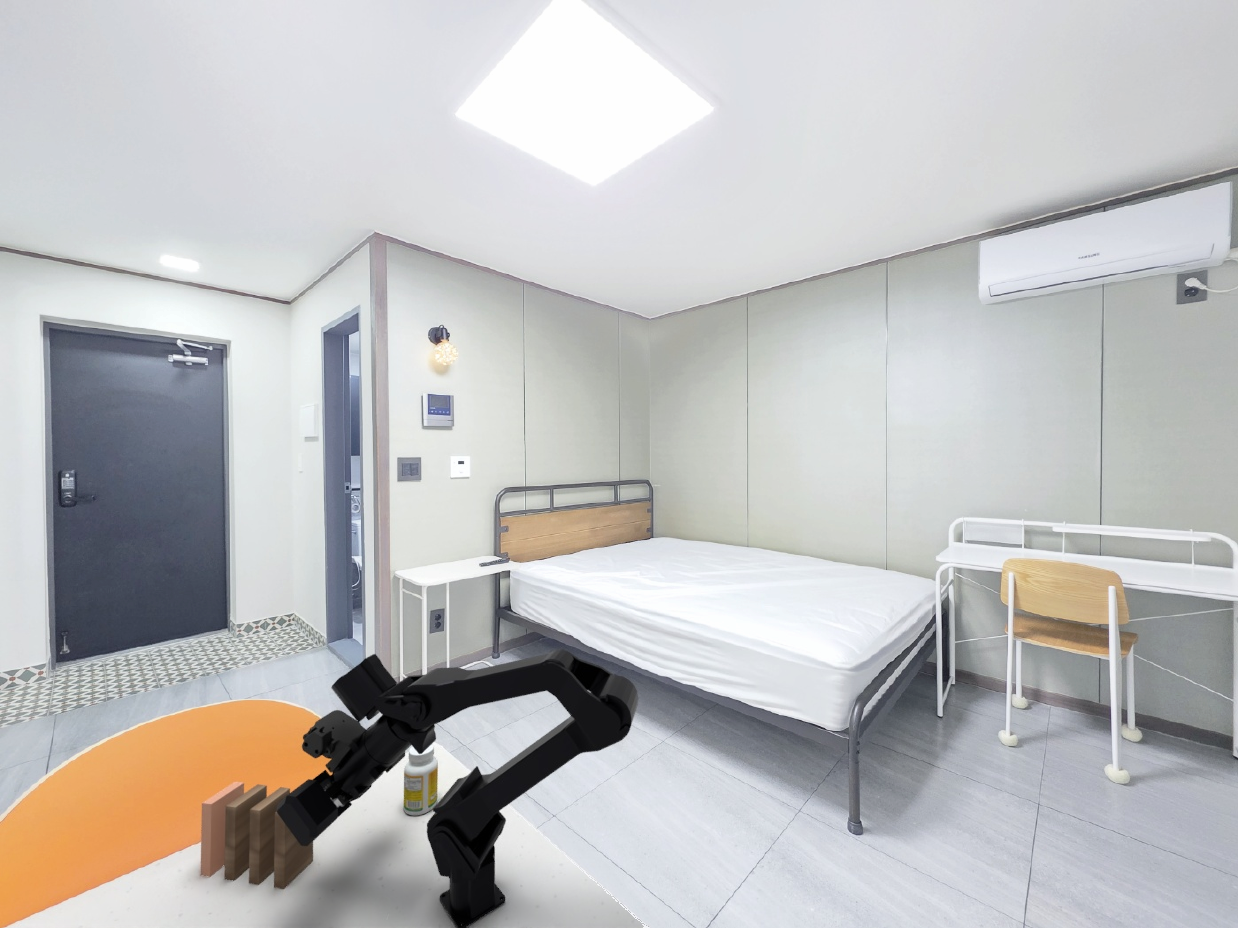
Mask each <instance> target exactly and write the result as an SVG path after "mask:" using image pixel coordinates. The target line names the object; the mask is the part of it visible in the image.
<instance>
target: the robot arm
mask: <svg viewBox="0 0 1238 928" xmlns="http://www.w3.org/2000/svg"><path fill="white" fill-rule="evenodd" d="M331 690H332V691H333V692H334V694H335V695H336V696H337V697H338V699H339V700H340V701H341V702H342V704H343V705H344V706H345V707H346V709H347V710H348V712H350V714H351V715H349V714H348V713H346V712H344V711H342V710H338V709H337V710H336V709H335V710H332V711H331V712H329V713H327V714H326V715H324V716H322V717H321V718H320V719H318V720H316V721H315V722H314V725H312V727H310V728H309V730H308V731H307V732H306V733H305V734H303V736H302V739H303V742H302V744H301V749H302V751H303V752H304V753H306V754H308V755H309V756H311V757H312V758H313V759H318V758H320V757H321V756H323V757H325V758H326V759H328V760H329V759H330V760H329V761H328V762H327V763H326V764H325V765H324V766H325V768H326V769H324V770H323V771H322V772H321V773H319V774H317V775H316V776H315V777H314V778H313V779H312V778H311V779H309V778H308V779H307V780H306V781H304V782H303V783H302V784H300V785H299V786H297V787H296V788H295V789H294V790H291V791H290V793H289V794H288V795H287V796H286V797H285V798H284V799H283V800H282V801H281V802H280V803H279V804H278V805H277V810H276V812H277V813H278V815H279V816H280V817H281V819H282V820H283V822H284V823H285V824H286V826H287V827H288V828H289V830H290V831H291V833H292V834H293V835H294V837H295V838H296V839H297V841H298V842H299V843H300V845H301V846H308V845H309V844H311V843H312V842H313V843H314V841H315V840H317V838H318V837H319V836H321V834H323V832H325V831H326V830H327V829H328V828H329V827H330V826H331V825H332V824H333V823H335V821H336V820H337V819H338V818H339V817H340V816H342V815H343V813H345V812H346V810H348V809H349V808H350V807H351V806H352V805H353V804H352V802H353V801H355V800H358V799H360V798H361V797H362V796H363V795H364V794H366V793H367V791H369V790H370V789H371V788H372V785H373V784H374V783H375V782H376V781H378V779H380V777H381V776H382V775H383V774H384V772H385V773H387V774H388V773H389V772H390V771H391V770H392V769H393V768H394V767H396V766H397V765H398V763H400V762H401V761H402V760H403V759H404V758H405V757H406V751H408V750H409V749H410V748H411V747H414V749H415V750H416V751H417V752H418V753H419V754H422V753H423V752H424V751H425V750H426V749H427V748H428V747H429V746H430V745H431V744H434V742H436V739H437V734H436V731H435V728H436V724H439V723H441V722H443V721H446V720H447V719H449V718H451V717H452V716H454V715H456V714H458V713H460V712H461V711H464V710H467V709H469V708H471V707H476V706H480V705H485V704H491V703H495V702H501V701H505V700H509V699H513V698H514V699H515V698H519V697H524V696H528V695H533V694H537V693H543V692H548V693H549V694H551V695H552V696H554V697H555V698H556V699H557V701H558V702H559V703H560V704H561V706H562V707H563V708H564V710H566V712H568V714H569V717H568V718H566V719H565V720H564V721H562V722H561V723H558V725H556V727H554V728H553V729H551V730H550V731H548V732H547V733H545V734H544V735H543V736H541V737H540V738H539V739H537V740H535V742H533V743H532V744H531V745H529V746H528V747H526V748H525V749H523V750H522V751H520V752H519V753H518V754H517V755H515V756H514V757H512V758H510V760H508V761H507V762H505V763H504V764H503V765H502V766H500V767H499V768H497V769H496V770H494V771H493V772H492V773H489V774H488V773H487V774H482V773H481V771H480V768H479V766H477V765H476V766H475V767H474V768H473V769H472V770H471V772H469V773H468V774H467V775H465V776H463V777H459V778H457V780H456V781H455V782H454V783H453V784H452V785H451V786H450V788H448V790H447V791H446V792H445V794H444V795H443V796H442V797H441V798H440V799H439V801H437V803H436V805H435V806H434V807H433V808H432V812H434V814H432V816H431V817H430V818H429V820H428V822H427V823H426V836H427V837H426V838H427V841H428V842H429V844H430V848H431V850H432V854H433V858H434V860H435V864H436V867H437V871H438V874H439V876H440V877H446V878H448V879H449V889H447V890H445V891H444V892H442V893H440V895H439V902H440V904H441V905H442V908H443V909H444V911H445V912H446V913H447V915H448V917H449V918H450V920H451V922H452V923H453V925H454V927H456V928H468V927H470V926H471V925H473V924H474V923H476V922H478V921H479V920H480V919H482V918H484V917H485V916H487V915H488V914H490V913H492V912H493V911H494V910H496V909H497V908H499V907H501V906H502V905H503V904H505V903H506V896H505V894H504V893H503V891H502V890H501V889H500V888H499V887H498V885H497V884H496V849H495V848H496V847H495V843H496V841H497V840H498V838H499V837H500V836H501V835H502V833H503V830H504V828H505V825H506V822H507V819H506V818H505V816H504V815H503V814H502V813H501V812H500V811H501V810H502V809H504V808H505V807H507V806H508V805H510V804H511V803H512V802H514V801H515V800H517V799H518V798H519V797H521V796H522V795H524V794H525V793H527V792H528V791H529V790H531V789H533V788H534V787H535V786H537V785H538V784H539V783H541V782H542V781H544V780H545V779H546V778H547V777H549V776H550V775H552V774H554V772H556V771H558V770H559V769H561V768H562V767H563V766H564V765H566V764H568V763H569V762H570V761H571V760H573V759H574V758H576V757H577V756H579V755H581V754H585V753H593V752H594V753H595V752H599V751H601V750H604V749H606V748H608V747H610V746H613V745H615V744H617V743H620V742H621V741H623V739H625V738H626V737H627V736H628V734H629V733H630V730H631V727H632V725H633V722H634V718H635V715H636V712H637V708H638V704H639V694H638V690H637V688H636V686H635V684H634V683H633V682H632V681H631V680H630V679H628V678H627V677H624V676H623V675H618V674H614V673H612V672H611V671H609V670H607V669H606V668H604V667H603V666H601V665H600V664H599V665H598V664H596V663H592V662H590V661H587V660H584V659H581V658H578V657H577V656H576V655H574V654H573V653H571V652H570V651H568V650H565V649H555V650H553V651H550V652H549V653H545V654H541V655H536V656H532V657H531V656H530V657H528V658H523V659H518V660H513V661H509V662H506V663H505V662H504V663H500V664H495V665H491V666H487V667H482V668H477V669H466V668H461V667H436V668H434V669H431V670H430V671H428V672H426V673H425V674H416V675H408V676H407V677H404V679H402V680H400V681H399V682H397V681H396V679H394V677H393V676H392V674H391V673H390V672H389V671H388V669H386V667H385V666H384V665H383V663H382V661H381V659H380V658H379V656H378V655H377V654H376V653H373V654H371V655H369V656H367V657H366V658H364V659H363V660H362V661H361V662H359V664H357V665H355V667H353V668H351V670H349V671H348V672H347V673H346V674H343V675H342V676H340V677H338V678H337V680H335V681H334V683H333V684H332V685H331ZM378 714H381V716H380V717H378V719H376V721H375V722H374V723H373V724H371V725H370V726H368V727H367V728H365V727H364V726H362V724H361V721H362V720H364V719H365V718H366V719H367V721H371V720H372V719H373V718H374V717H376V716H377V715H378ZM352 716H353V717H352ZM327 770H328V771H327Z"/></svg>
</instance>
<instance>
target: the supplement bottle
mask: <svg viewBox="0 0 1238 928" xmlns="http://www.w3.org/2000/svg"><path fill="white" fill-rule="evenodd" d="M403 769H404V770H403V811H404V812H405V813H406V814H407V815H409V816H414V817H415V816H420V815H423V814H426V813H428V812H430V811H431V810H433V808H434V807H435V806H436V805H437V803H438V781H439V779H438V778H439V777H438V776H439V775H438V771H439V770H438V769H439V765H438V759H437V757H436V756H435V746H434V743H432V744H431V745H430V746H429V747H428V748H427V749H426V750H425V751H424V752H423V753H422V754H419V753H418V752H417V751H416V750H415V749H414V747H413V746H410V747H409V749H408V761H407V762H406V763H405V765H404V768H403Z"/></svg>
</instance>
